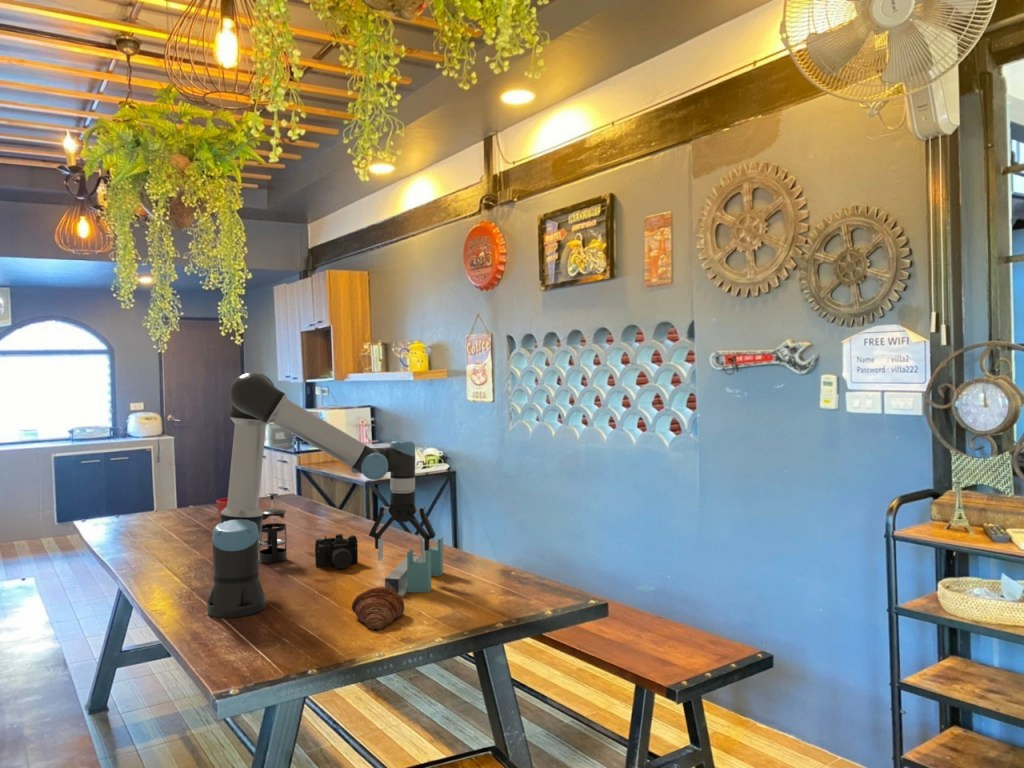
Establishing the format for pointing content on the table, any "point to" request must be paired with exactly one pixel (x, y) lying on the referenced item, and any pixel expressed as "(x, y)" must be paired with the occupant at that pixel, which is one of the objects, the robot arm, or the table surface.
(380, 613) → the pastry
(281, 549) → the french press
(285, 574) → the table surface
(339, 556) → the camera
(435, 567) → the post
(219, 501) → the flower pot
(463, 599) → the table surface
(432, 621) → the table surface
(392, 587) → the rail
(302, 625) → the table surface
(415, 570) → the post
